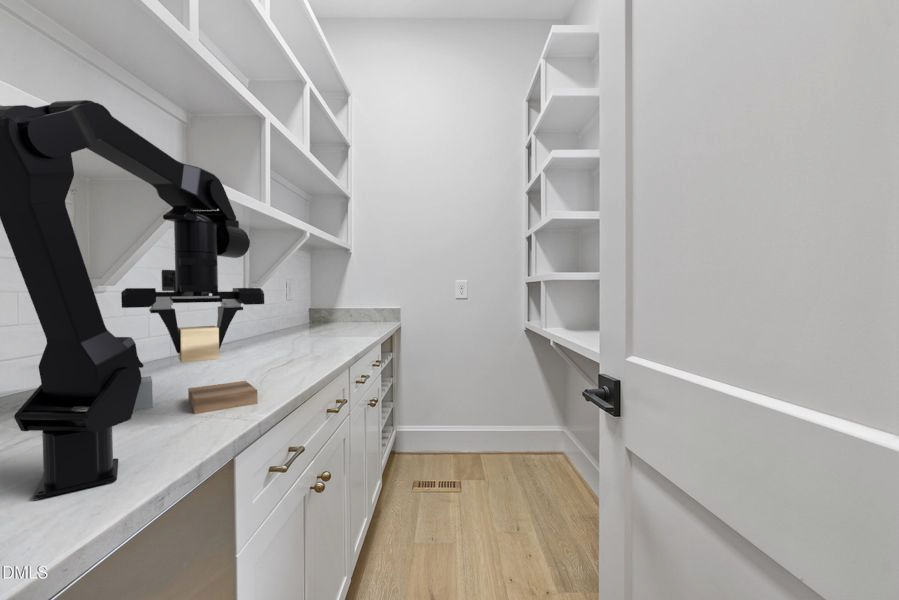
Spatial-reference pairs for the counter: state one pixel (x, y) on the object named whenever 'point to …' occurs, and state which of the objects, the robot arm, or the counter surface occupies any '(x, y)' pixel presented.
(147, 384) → the slate cube
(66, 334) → the robot arm
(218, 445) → the counter surface
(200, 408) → the walnut block
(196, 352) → the maple cube
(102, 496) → the counter surface
